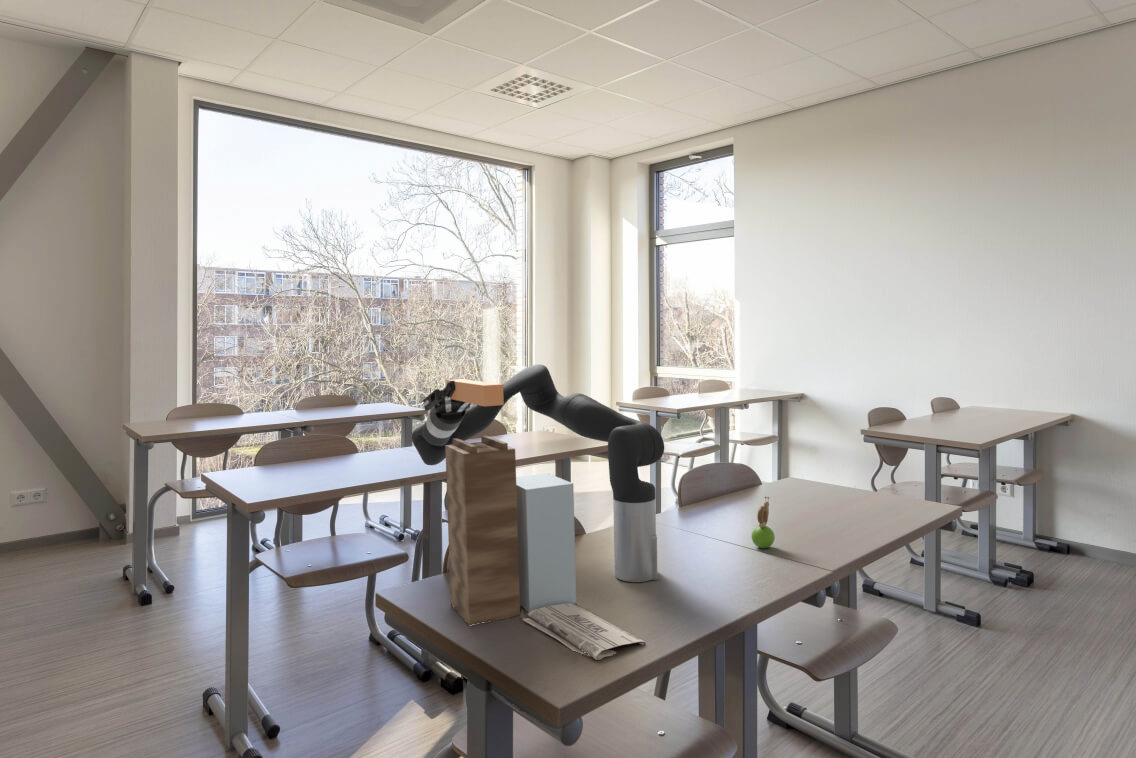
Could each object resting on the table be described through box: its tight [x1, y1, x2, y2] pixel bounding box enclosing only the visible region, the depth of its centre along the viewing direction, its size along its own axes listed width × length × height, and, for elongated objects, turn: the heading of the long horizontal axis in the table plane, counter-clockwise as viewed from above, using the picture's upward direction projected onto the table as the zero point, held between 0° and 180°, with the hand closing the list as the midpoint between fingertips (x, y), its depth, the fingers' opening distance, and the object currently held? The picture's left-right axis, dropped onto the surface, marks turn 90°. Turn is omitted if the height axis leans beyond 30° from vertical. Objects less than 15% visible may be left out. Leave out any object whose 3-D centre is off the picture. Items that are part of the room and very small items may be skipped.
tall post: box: [445, 435, 521, 626], centre depth 133 cm, size 12×10×33 cm
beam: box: [445, 378, 505, 406], centre depth 143 cm, size 24×4×4 cm, turn 27°
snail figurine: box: [751, 496, 776, 549], centre depth 169 cm, size 5×6×12 cm
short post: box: [516, 473, 577, 613], centre depth 139 cm, size 12×10×24 cm
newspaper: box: [522, 603, 647, 661], centre depth 123 cm, size 23×12×2 cm, turn 34°
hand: (463, 383), depth 148 cm, fingers closed on beam, 4 cm apart
